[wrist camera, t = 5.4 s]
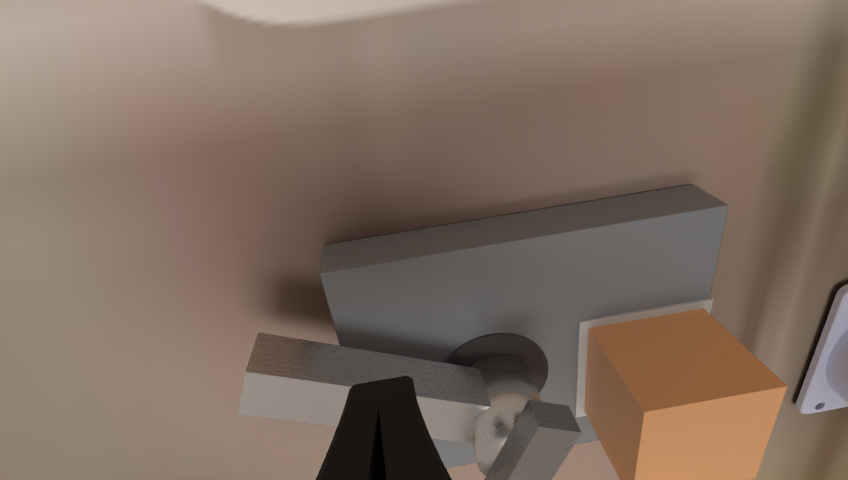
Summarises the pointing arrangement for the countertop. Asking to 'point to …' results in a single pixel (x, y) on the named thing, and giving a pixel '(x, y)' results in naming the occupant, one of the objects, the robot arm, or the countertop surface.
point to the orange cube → (679, 399)
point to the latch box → (526, 286)
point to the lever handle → (419, 400)
